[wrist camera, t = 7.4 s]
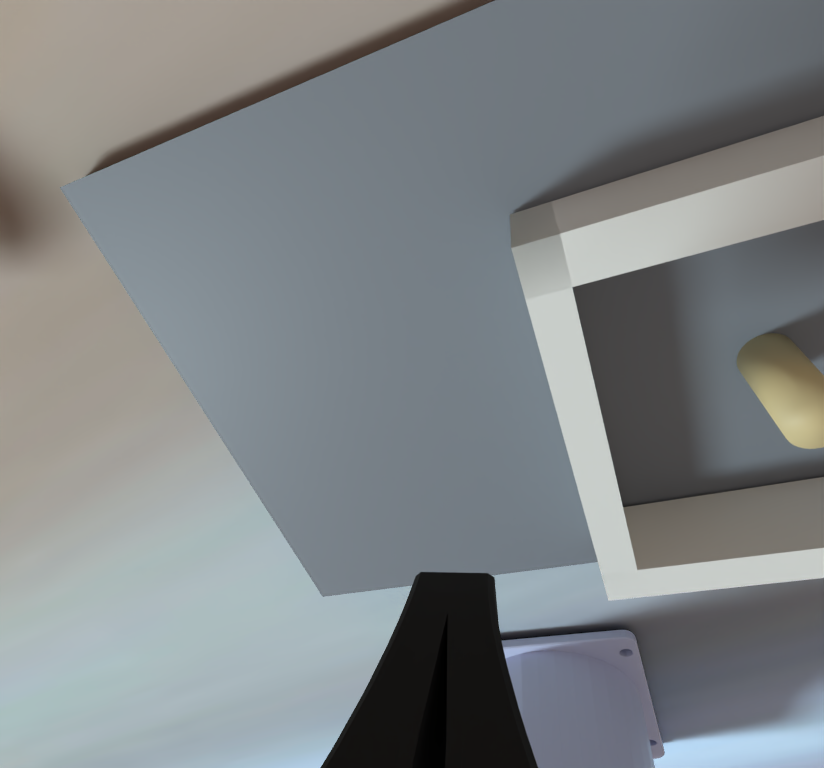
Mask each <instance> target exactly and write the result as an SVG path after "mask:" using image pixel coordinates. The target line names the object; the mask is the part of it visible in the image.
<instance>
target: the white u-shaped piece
mask: <svg viewBox="0 0 824 768" xmlns="http://www.w3.org/2000/svg"><path fill="white" fill-rule="evenodd" d="M822 220H824V116H821V117H818V118H815V119H812V120H808V121H805V122H802V123H799V124H796V125H793V126H789V127H786V128H783V129H780V130H777V131H773V132H770V133H767V134H764V135H761V136H758V137H754V138H751V139H748V140H745V141H742V142H739V143H735V144H732V145H729V146H726V147H723V148H719V149H716V150H713V151H710V152H707V153H704V154H700V155H697V156H694V157H691V158H688V159H684V160H681V161H678V162H675V163H672V164H669V165H665V166H662V167H659V168H656V169H653V170H650V171H646V172H643V173H640V174H637V175H634V176H630V177H627V178H624V179H621V180H618V181H615V182H611V183H608V184H605V185H602V186H599V187H596V188H592V189H589V190H586V191H583V192H580V193H576V194H573V195H570V196H567V197H564V198H561V199H557V200H554V201H551V202H548V203H545V204H541V205H538V206H535V207H532V208H529V209H526V210H522V211H519V212H516V213H513V214H510V231H511V249H512V253H513V257H514V260H515V264H516V267H517V271H518V275H519V278H520V282H521V286H522V289H523V293H524V296H525V300H526V304H527V307H528V311H529V314H530V318H531V322H532V325H533V329H534V333H535V336H536V340H537V343H538V347H539V351H540V354H541V358H542V361H543V365H544V369H545V372H546V376H547V380H548V383H549V387H550V390H551V394H552V398H553V401H554V405H555V408H556V412H557V416H558V419H559V423H560V426H561V430H562V434H563V437H564V441H565V445H566V448H567V452H568V455H569V459H570V463H571V466H572V470H573V473H574V477H575V481H576V484H577V488H578V492H579V495H580V499H581V502H582V506H583V510H584V513H585V517H586V520H587V524H588V528H589V531H590V535H591V539H592V542H593V546H594V549H595V553H596V557H597V560H598V564H599V567H600V571H601V575H602V578H603V582H604V586H605V589H606V593H607V596H608V600H609V601H611V600H621V599H630V598H640V597H649V596H658V595H668V594H677V593H687V592H696V591H705V590H715V589H724V588H734V587H743V586H753V585H762V584H771V583H781V582H790V581H800V580H809V579H818V578H824V477H820V478H813V479H807V480H800V481H794V482H787V483H780V484H774V485H767V486H761V487H754V488H747V489H741V490H734V491H728V492H721V493H714V494H708V495H701V496H695V497H688V498H682V499H675V500H668V501H662V502H655V503H649V504H642V505H635V506H629V507H623V505H622V501H621V497H620V492H619V488H618V484H617V479H616V475H615V471H614V466H613V462H612V458H611V453H610V449H609V445H608V440H607V436H606V432H605V427H604V423H603V418H602V414H601V410H600V405H599V401H598V397H597V392H596V388H595V384H594V379H593V375H592V371H591V366H590V362H589V358H588V353H587V349H586V345H585V340H584V336H583V332H582V327H581V323H580V319H579V314H578V310H577V306H576V301H575V297H574V293H573V288H572V287H575V286H579V285H582V284H586V283H590V282H594V281H597V280H601V279H605V278H609V277H612V276H616V275H620V274H624V273H627V272H631V271H635V270H638V269H642V268H646V267H650V266H653V265H657V264H661V263H665V262H668V261H672V260H676V259H680V258H683V257H687V256H691V255H695V254H698V253H702V252H706V251H709V250H713V249H717V248H721V247H724V246H728V245H732V244H736V243H739V242H743V241H747V240H751V239H754V238H758V237H762V236H766V235H769V234H773V233H777V232H780V231H784V230H788V229H792V228H795V227H799V226H803V225H807V224H810V223H814V222H818V221H822Z"/></svg>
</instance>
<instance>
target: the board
mask: <svg viewBox="0 0 824 768" xmlns="http://www.w3.org/2000/svg"><path fill="white" fill-rule="evenodd" d="M821 116H824V0H495V1H492V2H490V3H488V4H485V5H483V6H481V7H478V8H476V9H474V10H471V11H469V12H467V13H464V14H462V15H460V16H457V17H455V18H453V19H450V20H448V21H446V22H443V23H441V24H439V25H436V26H434V27H432V28H429V29H427V30H425V31H423V32H420V33H418V34H416V35H413V36H411V37H409V38H406V39H404V40H402V41H399V42H397V43H395V44H392V45H390V46H388V47H385V48H383V49H381V50H378V51H376V52H374V53H371V54H369V55H367V56H364V57H362V58H360V59H357V60H355V61H353V62H350V63H348V64H346V65H344V66H341V67H339V68H337V69H334V70H332V71H330V72H327V73H325V74H323V75H320V76H318V77H316V78H313V79H311V80H309V81H306V82H304V83H302V84H299V85H297V86H295V87H292V88H290V89H288V90H285V91H283V92H281V93H278V94H276V95H274V96H271V97H269V98H267V99H265V100H262V101H260V102H258V103H255V104H253V105H251V106H248V107H246V108H244V109H241V110H239V111H237V112H234V113H232V114H230V115H227V116H225V117H223V118H220V119H218V120H216V121H213V122H211V123H209V124H206V125H204V126H202V127H199V128H197V129H195V130H192V131H190V132H188V133H186V134H183V135H181V136H179V137H176V138H174V139H172V140H169V141H167V142H165V143H162V144H160V145H158V146H155V147H153V148H151V149H148V150H146V151H144V152H141V153H139V154H137V155H134V156H132V157H130V158H127V159H125V160H123V161H120V162H118V163H116V164H113V165H111V166H109V167H107V168H104V169H102V170H100V171H97V172H95V173H93V174H90V175H88V176H86V177H83V178H81V179H79V180H76V181H74V182H72V183H69V184H67V185H65V186H62V187H60V189H61V190H62V192H63V193H64V195H65V196H66V198H67V199H68V201H69V203H70V204H71V206H72V207H73V209H74V210H75V212H76V213H77V215H78V217H79V218H80V220H81V221H82V223H83V224H84V226H85V227H86V229H87V231H88V232H89V234H90V235H91V237H92V238H93V240H94V241H95V243H96V245H97V246H98V248H99V249H100V251H101V252H102V254H103V255H104V257H105V259H106V260H107V262H108V263H109V265H110V266H111V268H112V269H113V271H114V273H115V274H116V276H117V277H118V279H119V280H120V282H121V283H122V285H123V287H124V288H125V290H126V291H127V293H128V294H129V296H130V297H131V299H132V301H133V302H134V304H135V305H136V307H137V308H138V310H139V311H140V313H141V315H142V316H143V318H144V319H145V321H146V322H147V324H148V325H149V327H150V329H151V330H152V332H153V333H154V335H155V336H156V338H157V339H158V341H159V343H160V344H161V346H162V347H163V349H164V350H165V352H166V353H167V355H168V357H169V358H170V360H171V361H172V363H173V364H174V366H175V367H176V369H177V371H178V372H179V374H180V375H181V377H182V378H183V380H184V381H185V383H186V385H187V386H188V388H189V389H190V391H191V392H192V394H193V395H194V397H195V399H196V400H197V402H198V403H199V405H200V406H201V408H202V409H203V411H204V413H205V414H206V416H207V417H208V419H209V420H210V422H211V423H212V425H213V427H214V428H215V430H216V431H217V433H218V434H219V436H220V437H221V439H222V441H223V442H224V444H225V445H226V447H227V448H228V450H229V451H230V453H231V455H232V456H233V458H234V459H235V461H236V462H237V464H238V465H239V467H240V469H241V470H242V472H243V473H244V475H245V476H246V478H247V479H248V481H249V483H250V484H251V486H252V487H253V489H254V490H255V492H256V493H257V495H258V497H259V498H260V500H261V501H262V503H263V504H264V506H265V507H266V509H267V511H268V512H269V514H270V515H271V517H272V518H273V520H274V521H275V523H276V525H277V526H278V528H279V529H280V531H281V532H282V534H283V535H284V537H285V539H286V540H287V542H288V543H289V545H290V546H291V548H292V549H293V551H294V553H295V554H296V556H297V557H298V559H299V560H300V562H301V563H302V565H303V567H304V568H305V570H306V571H307V573H308V574H309V576H310V577H311V579H312V581H313V582H314V584H315V585H316V587H317V588H318V590H319V591H320V593H321V595H322V596H323V597H324V596H332V595H340V594H347V593H355V592H363V591H371V590H379V589H387V588H395V587H403V586H411V585H413V582H414V579H415V576H416V575H418V574H419V573H420V572H456V573H488V574H490V575H498V574H506V573H514V572H522V571H529V570H537V569H545V568H553V567H561V566H569V565H577V564H585V563H593V562H598V560H597V557H596V553H595V549H594V546H593V542H592V539H591V535H590V531H589V528H588V524H587V520H586V517H585V513H584V510H583V506H582V502H581V499H580V495H579V492H578V488H577V484H576V481H575V477H574V473H573V470H572V466H571V463H570V459H569V455H568V452H567V448H566V445H565V441H564V437H563V434H562V430H561V426H560V423H559V419H558V416H557V412H556V408H555V405H554V401H553V398H552V394H551V390H550V387H549V383H548V380H547V376H546V372H545V369H544V365H543V361H542V358H541V354H540V351H539V347H538V343H537V340H536V336H535V333H534V329H533V325H532V322H531V318H530V314H529V311H528V307H527V304H526V300H525V296H524V293H523V289H522V286H521V282H520V278H519V275H518V271H517V267H516V264H515V260H514V257H513V253H512V249H511V231H510V214H513V213H516V212H519V211H522V210H526V209H529V208H532V207H535V206H538V205H541V204H545V203H548V202H551V201H554V200H557V199H561V198H564V197H567V196H570V195H573V194H576V193H580V192H583V191H586V190H589V189H592V188H596V187H599V186H602V185H605V184H608V183H611V182H615V181H618V180H621V179H624V178H627V177H630V176H634V175H637V174H640V173H643V172H646V171H650V170H653V169H656V168H659V167H662V166H665V165H669V164H672V163H675V162H678V161H681V160H684V159H688V158H691V157H694V156H697V155H700V154H704V153H707V152H710V151H713V150H716V149H719V148H723V147H726V146H729V145H732V144H735V143H739V142H742V141H745V140H748V139H751V138H754V137H758V136H761V135H764V134H767V133H770V132H773V131H777V130H780V129H783V128H786V127H789V126H793V125H796V124H799V123H802V122H805V121H808V120H812V119H815V118H818V117H821ZM572 288H573V293H574V297H575V301H576V306H577V310H578V314H579V319H580V323H581V327H582V332H583V336H584V340H585V345H586V349H587V353H588V358H589V362H590V366H591V371H592V375H593V379H594V384H595V388H596V392H597V397H598V401H599V405H600V410H601V414H602V418H603V423H604V427H605V432H606V436H607V440H608V445H609V449H610V453H611V458H612V462H613V466H614V471H615V475H616V479H617V484H618V488H619V492H620V497H621V501H622V505H623V507H629V506H635V505H642V504H649V503H655V502H662V501H668V500H675V499H682V498H688V497H695V496H701V495H708V494H714V493H721V492H728V491H734V490H741V489H747V488H754V487H761V486H767V485H774V484H780V483H787V482H794V481H800V480H807V479H813V478H820V477H824V220H822V221H818V222H814V223H810V224H807V225H803V226H799V227H795V228H792V229H788V230H784V231H780V232H777V233H773V234H769V235H766V236H762V237H758V238H754V239H751V240H747V241H743V242H739V243H736V244H732V245H728V246H724V247H721V248H717V249H713V250H709V251H706V252H702V253H698V254H695V255H691V256H687V257H683V258H680V259H676V260H672V261H668V262H665V263H661V264H657V265H653V266H650V267H646V268H642V269H638V270H635V271H631V272H627V273H624V274H620V275H616V276H612V277H609V278H605V279H601V280H597V281H594V282H590V283H586V284H582V285H579V286H575V287H572Z"/></svg>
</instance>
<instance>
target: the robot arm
mask: <svg viewBox="0 0 824 768" xmlns="http://www.w3.org/2000/svg"><path fill="white" fill-rule="evenodd" d="M664 753H665V752H664V747H663V743H662V739H661V735H660V731H659V727H658V723H657V720H656V716H655V712H654V708H653V704H652V700H651V696H650V692H649V688H648V684H647V680H646V676H645V672H644V668H643V664H642V660H641V657H640V653H639V649H638V645H637V641H636V637H635V635H634V634H633V633H632V632H630V631H628V630H611V631H600V632H589V633H578V634H568V635H557V636H546V637H535V638H524V639H513V640H501V635H500V631H499V625H498V613H497V602H496V591H495V579H494V577H493V576H491V575H490V574H488V573H456V572H420V573H419V574H418V575H416V576H415V579H414V582H413V585H412V588H411V591H410V594H409V596H408V599H407V601H406V604H405V606H404V609H403V611H402V614H401V616H400V618H399V621H398V623H397V625H396V627H395V630H394V632H393V634H392V636H391V639H390V641H389V643H388V645H387V647H386V649H385V651H384V653H383V655H382V657H381V659H380V661H379V663H378V665H377V667H376V669H375V671H374V673H373V675H372V678H371V680H370V682H369V684H368V686H367V687H366V689H365V691H364V693H363V695H362V697H361V699H360V701H359V702H358V704H357V706H356V708H355V709H354V711H353V713H352V715H351V717H350V718H349V720H348V722H347V724H346V725H345V727H344V729H343V731H342V733H341V734H340V736H339V738H338V740H337V741H336V743H335V745H334V747H333V748H332V750H331V752H330V753H329V755H328V756H327V758H326V760H325V761H324V763H323V765H322V766H321V768H655V766H654V761H653V759H656V758H661V757H662V756H663V755H664Z"/></svg>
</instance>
